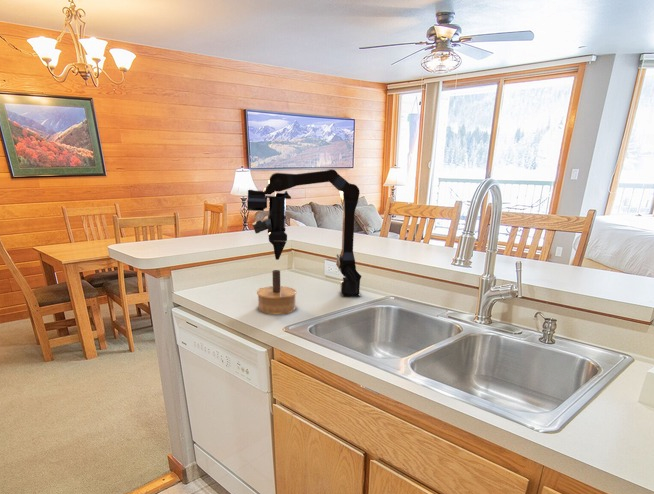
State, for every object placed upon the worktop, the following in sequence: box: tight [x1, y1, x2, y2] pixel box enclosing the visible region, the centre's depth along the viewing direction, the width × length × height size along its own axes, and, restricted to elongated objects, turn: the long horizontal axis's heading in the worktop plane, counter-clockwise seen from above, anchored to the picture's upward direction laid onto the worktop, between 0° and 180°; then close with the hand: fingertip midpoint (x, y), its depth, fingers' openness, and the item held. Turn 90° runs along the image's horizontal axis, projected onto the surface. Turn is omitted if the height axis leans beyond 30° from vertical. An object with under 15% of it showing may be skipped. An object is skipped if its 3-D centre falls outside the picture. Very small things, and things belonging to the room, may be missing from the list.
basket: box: [257, 295, 296, 315], centre depth 149 cm, size 12×12×6 cm
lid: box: [256, 269, 297, 299], centre depth 146 cm, size 13×13×8 cm
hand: (276, 256), depth 159 cm, fingers open, 9 cm apart
